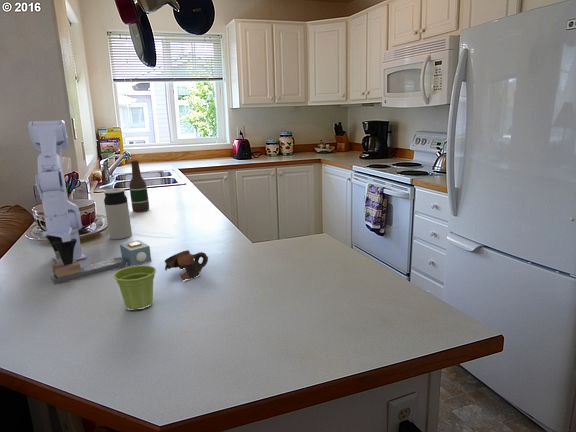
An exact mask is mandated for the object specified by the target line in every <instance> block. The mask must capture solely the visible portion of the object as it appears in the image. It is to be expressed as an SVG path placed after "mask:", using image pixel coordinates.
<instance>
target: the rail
mask: <svg viewBox="0 0 576 432" xmlns="http://www.w3.org/2000/svg"><path fill="white" fill-rule="evenodd" d="M127 264H128V263H127V262H126V260H124V259H123V258H122V256H119V257H115V258H112V259H111V258H110V259H107V260H104V261H103V260H102V261H98V262H94V263H91V264H87V265H84V266H83V265H82V266H80V268H81V272H79V273H75V274H71V275H67V276H63V277H60V278H58V277H57V276H56V275H55V274H54V273H50V274H49V277H50V281H51V282H52V283H53V284H54V285H57V284H58V285H59V284H61V283H65V282H70V281H73V280H77V279H81V278H85V277H89V276H92V275H97V274H100V273H104V272H107V271H111V270H115V269H118V268H122V267H125V266H126V265H127Z"/></svg>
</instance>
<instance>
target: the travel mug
mask: <svg viewBox="0 0 576 432" xmlns="http://www.w3.org/2000/svg"><path fill="white" fill-rule="evenodd" d="M125 191H126V188H122V187H120V188H119V187H117V188H109V189H106V190H103V193H104V196H105V197H104V199H103V202H104V203H103V204H104V210H105V215H106V223H107V228H108V229H107V230H108V235H109V238H110V239H111V240H123V239H127V238H129V237H132V235H133V231H132V224H131V219H130V218H131V216H130V210H129V204H128V203H129V202H128V197H127V196H126V194H125Z"/></svg>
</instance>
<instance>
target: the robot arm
mask: <svg viewBox="0 0 576 432" xmlns="http://www.w3.org/2000/svg"><path fill="white" fill-rule="evenodd" d="M27 127H28V133H29V137H30V140H31V142H32V144H33V145H32V146H33V147H34V148H35V150H36V151H39V152H41V153H39V154H38V156H37V174H35V175H34V176H35V185H36V189H37V191H38V194H39V198H40V201H41V202H42V208H43V213H44V222H45V223H44V224H45V229H46V230H45V231H43V232H42V235H43V236H44V237H45V238H46V239H47V241H48V242H49V244H50V245H51V246H52V249H53V252H54V253H55V252H56V251H59V253H60V256H61V259H62V262H63V264H64V265H68V264H72V263H73V259H75V260H76V261H79V260H84V259H86V258H87V256H86V255H85V254H83V252H82V246H81V240H80V234H79V230H81V229H82V227H83V225H82V218H81V213H80V209H79V207H78V205H76V204H75V203H73V202H71V201H70V200H69V198H68V191H67V187H66V179H65V172H64V167H63V159H62V155H63V151H64V150H65V149H68V144H69V141H68V132H67V126H66V123H65V121H64V120H63V119H60V120H45V121H44V120H43V121H41V120H40V121H31V120H30V121H29V122H28V126H27ZM52 258H53V259H54V260H55V261H56V256H55V255H52Z"/></svg>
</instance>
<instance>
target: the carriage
mask: <svg viewBox="0 0 576 432" xmlns="http://www.w3.org/2000/svg"><path fill="white" fill-rule="evenodd" d="M54 256H56V260H55V261H56V262H54V263H51V269H52V274H55V275H56V276H57V277H58V278H60V277H63V276H67V275H71V274H75V273H79V272H81V268H80V267H81V264H80V262H78V260H75V259H73V263H72V264H68V265H64V264H63V262H62V259H61V256H60V253H59V251H56V252H54Z"/></svg>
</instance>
